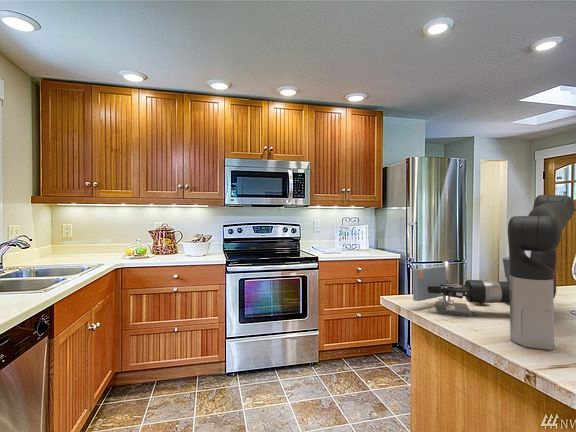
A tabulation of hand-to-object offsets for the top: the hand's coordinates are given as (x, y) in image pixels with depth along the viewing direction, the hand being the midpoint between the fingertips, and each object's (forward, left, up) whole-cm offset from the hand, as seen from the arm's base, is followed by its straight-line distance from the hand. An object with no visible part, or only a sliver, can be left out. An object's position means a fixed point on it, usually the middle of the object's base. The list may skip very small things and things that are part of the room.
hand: (428, 289), depth 112 cm
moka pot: (+24, -32, -8) cm, 41 cm away
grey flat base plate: (+5, -8, -8) cm, 12 cm away
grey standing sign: (+7, -1, -4) cm, 8 cm away
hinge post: (+15, -7, -8) cm, 18 cm away
